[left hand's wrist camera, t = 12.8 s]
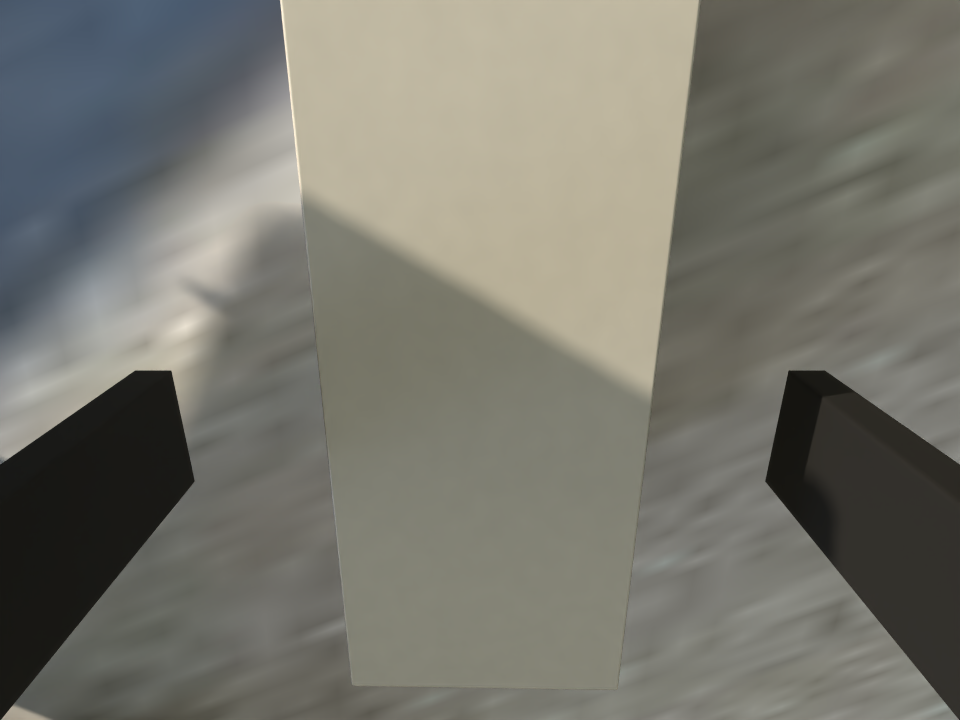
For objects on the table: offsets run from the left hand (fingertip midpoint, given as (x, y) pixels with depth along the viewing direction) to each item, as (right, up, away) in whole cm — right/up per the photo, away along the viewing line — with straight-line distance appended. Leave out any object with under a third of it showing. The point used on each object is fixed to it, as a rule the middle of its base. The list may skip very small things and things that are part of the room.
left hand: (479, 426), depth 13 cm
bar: (0, +34, -7) cm, 35 cm away
